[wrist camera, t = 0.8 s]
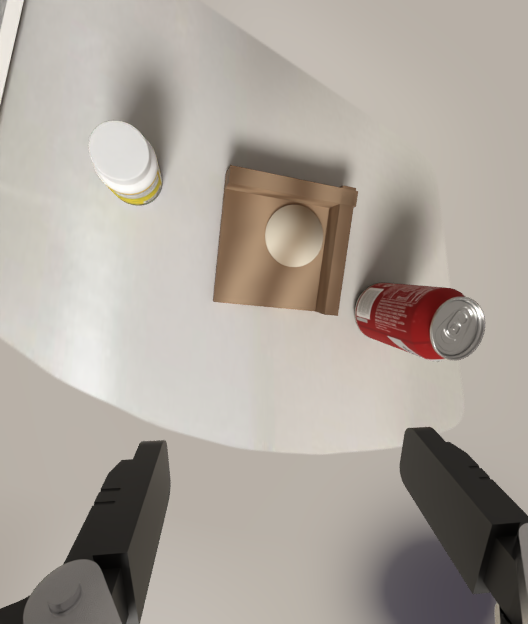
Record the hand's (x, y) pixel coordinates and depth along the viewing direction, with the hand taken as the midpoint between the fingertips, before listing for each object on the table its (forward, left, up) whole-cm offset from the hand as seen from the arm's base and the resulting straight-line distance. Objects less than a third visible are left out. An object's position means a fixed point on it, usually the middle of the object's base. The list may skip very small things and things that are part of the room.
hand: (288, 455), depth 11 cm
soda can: (+19, +3, -25) cm, 31 cm away
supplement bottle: (-9, +13, -25) cm, 29 cm away
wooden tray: (+6, +9, -24) cm, 27 cm away
